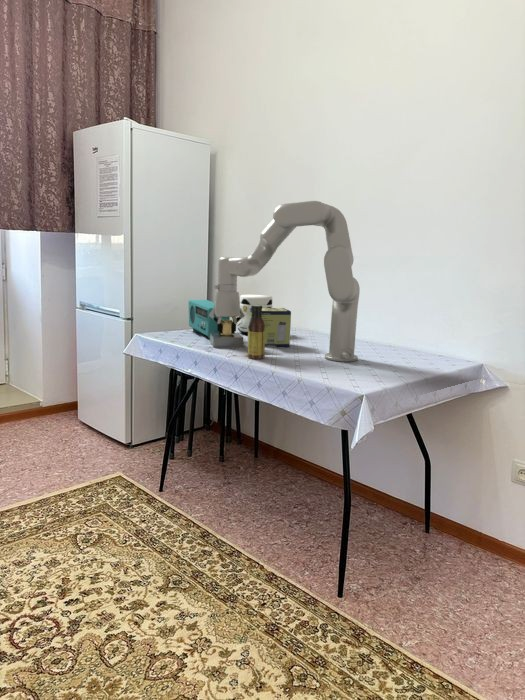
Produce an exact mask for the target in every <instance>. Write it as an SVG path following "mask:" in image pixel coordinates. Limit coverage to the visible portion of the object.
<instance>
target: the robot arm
mask: <svg viewBox="0 0 525 700" xmlns="http://www.w3.org/2000/svg"><path fill="white" fill-rule="evenodd" d="M272 218H273V219H272V220H271V221H270V222H269V223H268V224H267V225H266V227H265V228H264V229H263V230H262V231H261V232H260V235H259V239H260V240H259V242H258V245H257V246H256V248H255V249H254V250H253V251H252V252H251V254H250V255H248V257H247V256H246V257H237V258H236V257H231V256H230V257H229V256H228V257H227V256H222V257H220V258H219V259H218V268H217V270H218V271H217V273H218V275H217V278H218V279H217V284H215V285H214V290H215V289H216V290H217V291H216V292H215V295H214V296H215V298H214V303H215V305H214V309H213V310H212V311H211V313H210V314H209V316H210V317H211V318H212V319H214V320H215V321H216V322H217V331H219V334H221V318H222V317H230V318H232V319H231V320H232V322H233V330H232V333H233V334H235V333H236V331H237V322H238V321H239V320H240V319H242V318H243V317H244V316H245V315H244V313H243V312H242V311H241V309H240V292H238V291H237V289H238V277H242V278H247V277H253V276H255V275H257V274H259V272H261V270H262V269H264V267H265V266H267V264H268V263H269V261H271V259H272V257H273V256H274V254H275V253H276V251H277V250H278V248H279V247H280V246H281V245H282V243H283V242H285V240H286V239H287V238H288V237H289V236H290V235H291V233H292V232H293V231H294V230H295V229H296V228H297V227H304V226H307V227H309V226H316V227H322V228H323V229H324V232H325V240H326V245H327V250H326V252H325V254H324V257H323V267H324V272H325V278H326V285H327V291H328V294H329V296H330V297H331V299H332V306H331V318H330V332H329V349H328V352H327V353H325V354H324V358H325V359H326V360H329V361H333V362H355V361H358V359H359V356H358V355H356V354H355V347H356V334H357V332H356V331H357V319H358V307H359V306H358V305H359V300H360V299H359V298H360V292H361V291H360V290H361V289H360V284H359V282H358V280H357V279H356V278H355V277H354V275H353V268H352V267H353V264H354V259H355V258H354V254H353V251H352V250H353V249H352V242H351V239H350V238H351V236H350V232H349V228H348V223H347V219H346V217H345V216H344V214H343V213H342V211H341V210H340V209H338V208H336V207H334V206H332V205H329V204H327V203H324V202H321V201H318V200H309V201H308V200H307V201H300V202H290V203H289V202H288V203H282V204H279V205H278V206H277V207H276V208H275V209H274V211H273V214H272ZM213 314H215V315H216V316H218V318H216V317H215V316H214V315H213ZM239 315H240V316H239Z"/></svg>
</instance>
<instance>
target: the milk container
mask: <svg viewBox="0 0 525 700" xmlns="http://www.w3.org/2000/svg"><path fill="white" fill-rule="evenodd" d="M239 298H240V309H241V311H242V312H243V313H244V315H245V316H244V317H243V318H242V319H240V320H239V321H238V322H237V324H236V328H237V330H238V331H239V333H242V334H247V335H248V326H249V323H250V308H251V305H262V308H273V296H271V295H266V294H241V295H239ZM239 316H240V315H239ZM239 316H238V317H239Z"/></svg>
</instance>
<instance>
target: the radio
mask: <svg viewBox="0 0 525 700" xmlns="http://www.w3.org/2000/svg"><path fill="white" fill-rule="evenodd" d="M214 305H215V301H214V302H213V301H211V300H208V299H189V300H188V325H189V327H191V329H192V332H193V333H201V334H203V335H205V336H207V337H208V340H210V333H219V331H217V322H216V321H215V320H214V319H212V318H211V317H210V316H209V314H210V313H211V311H212V310H213V309H214ZM213 315H214V316H215V317H216V318H218V316H216V315H215V314H213ZM221 320H231V317H222V318H221Z"/></svg>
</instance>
